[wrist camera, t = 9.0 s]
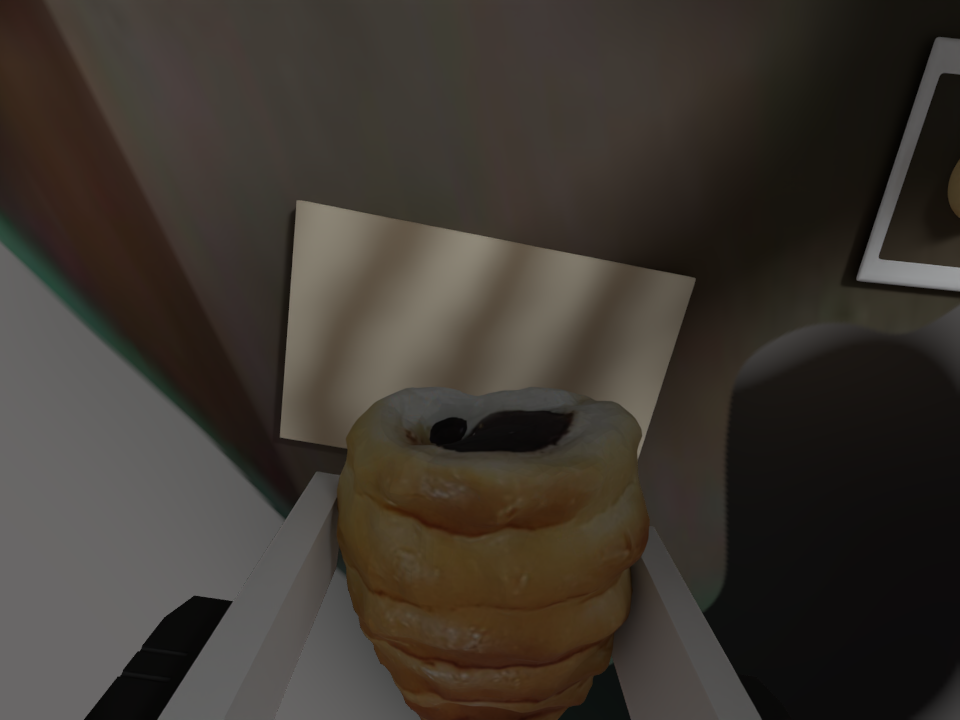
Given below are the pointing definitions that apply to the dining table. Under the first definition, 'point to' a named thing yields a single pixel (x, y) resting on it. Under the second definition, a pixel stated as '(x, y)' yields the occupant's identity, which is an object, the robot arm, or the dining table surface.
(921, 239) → the dining table surface
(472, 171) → the dining table surface
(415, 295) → the serving board
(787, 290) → the dining table surface
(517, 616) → the pastry
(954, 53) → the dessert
